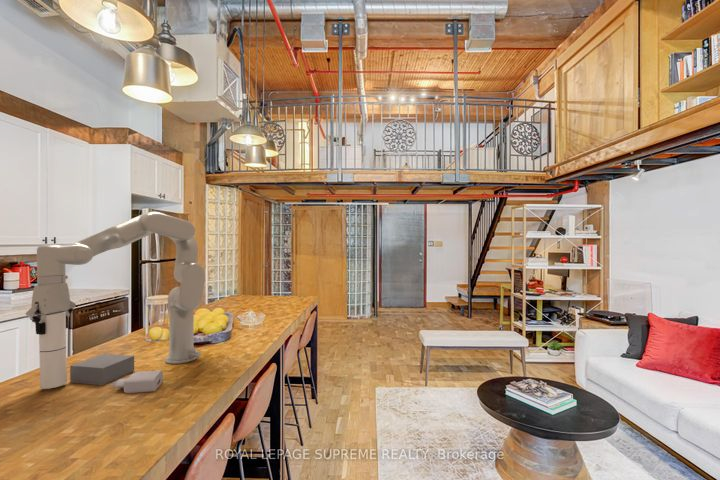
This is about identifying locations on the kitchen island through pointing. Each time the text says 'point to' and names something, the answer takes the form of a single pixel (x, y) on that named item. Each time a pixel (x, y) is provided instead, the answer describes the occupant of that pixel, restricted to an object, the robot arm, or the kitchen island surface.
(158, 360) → the kitchen island surface
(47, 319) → the cylindrical container
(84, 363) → the charcoal block
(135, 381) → the charger
